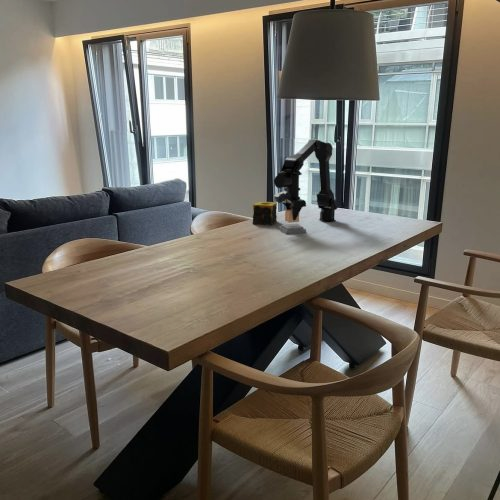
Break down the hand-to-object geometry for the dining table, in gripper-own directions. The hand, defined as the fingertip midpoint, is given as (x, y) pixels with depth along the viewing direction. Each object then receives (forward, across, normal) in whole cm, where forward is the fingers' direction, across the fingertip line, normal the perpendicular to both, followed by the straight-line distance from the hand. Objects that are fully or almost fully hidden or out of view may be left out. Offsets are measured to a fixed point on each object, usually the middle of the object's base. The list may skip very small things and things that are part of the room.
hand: (292, 219), depth 229 cm
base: (+6, 0, 0) cm, 6 cm away
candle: (+6, -22, -6) cm, 24 cm away
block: (+1, 0, 0) cm, 1 cm away
